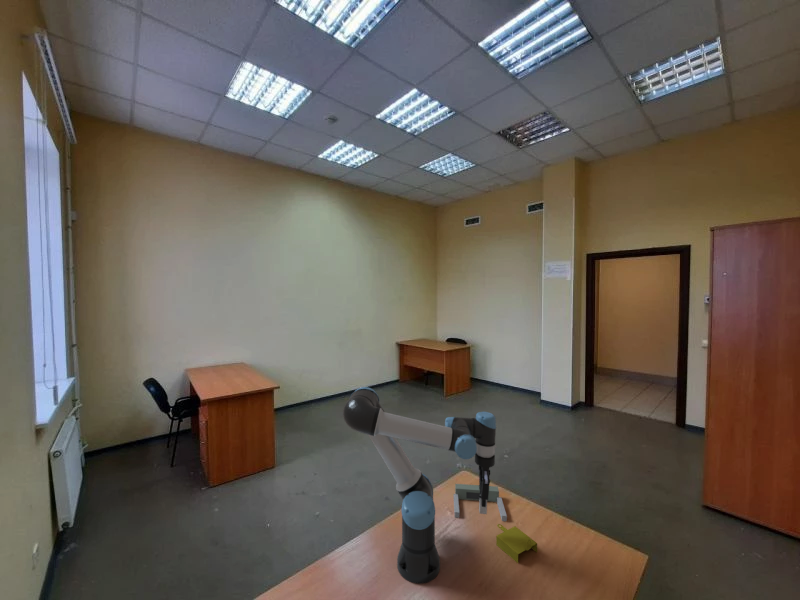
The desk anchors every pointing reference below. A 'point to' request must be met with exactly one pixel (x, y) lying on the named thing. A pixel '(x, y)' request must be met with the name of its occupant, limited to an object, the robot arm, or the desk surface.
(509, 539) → the bracket
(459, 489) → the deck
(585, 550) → the desk surface
